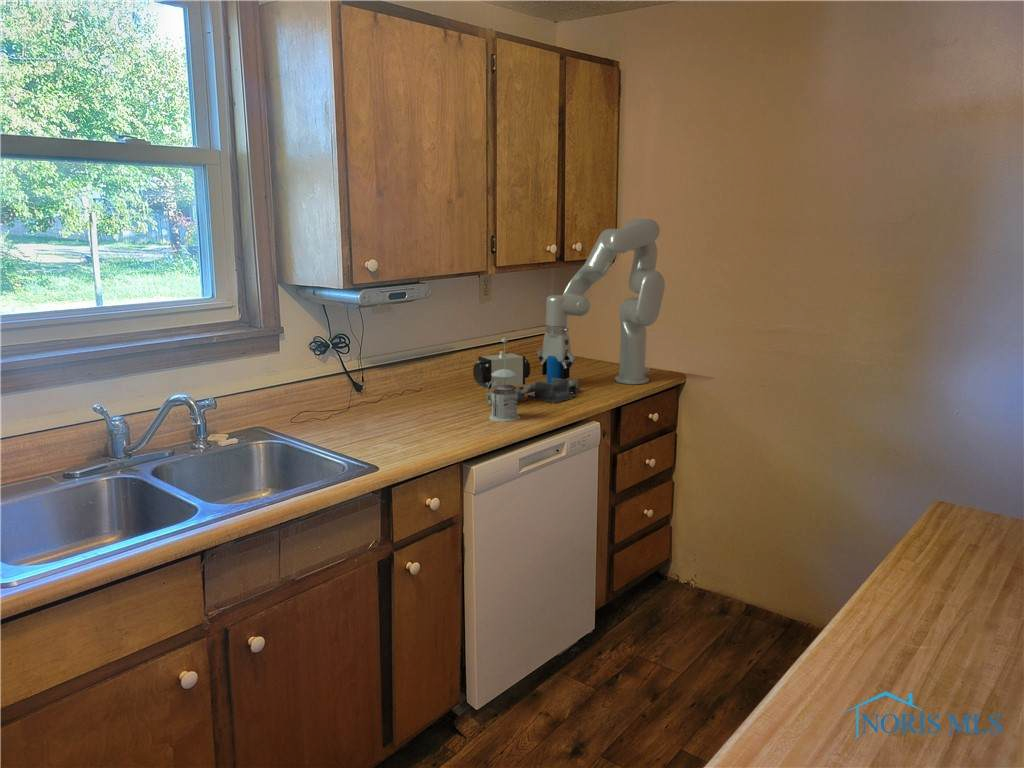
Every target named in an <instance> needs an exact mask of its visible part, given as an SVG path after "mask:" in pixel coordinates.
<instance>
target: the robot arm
mask: <svg viewBox="0 0 1024 768" xmlns="http://www.w3.org/2000/svg"><path fill="white" fill-rule="evenodd" d="M660 229H661V228H660V226H659V224H658V223H657V221H655V220H654V219H650V218H640V217H639V218H632V219H629V220H628V221H627V222H625V224H624V227H622V228H607V229H606V228H605V230H602V231H601V233H600V235H599V236H598V238H597V240H596V242H595V243H594V245H593V247H592V249H591V251H590V253H589V255H588V256H587V259H586V260H585V262H584V264H582V266H581V268H580V269H578V271H577V272H576V273H575V274H574V275H573V276H572V278H571V279H570V281H569V282H568V284H567V285H566V287H565V289H564V291H563V294H562V295H560V294H559V295H558V294H557V295H556V294H553V295H552V294H551V295H549V296H547V297H546V300H545V303H546V304H545V306H546V307H545V311H546V312H545V332H544V336H543V340H542V341H543V342H542V348H540V349H539V350H537V352H536V354H537V357H538V360H539V361H540V365H542V366H541V367H542V368H541V372H542V373H541V375H542V376H547V357H548V356H549V355H552V356H555V357H556V358H557V360H558V362H561V363H562V365H563V366H564V368H563V375H562V378H563V379H567V380H568V379H570V371H571V369H570V368H571V367H572V366H573V365H574V362H575V361H576V359H577V358H576V356H575V354H573V353H572V352H571V351H572V350H571V348H572V347H571V340H570V335H569V333H568V332H569V331H570V329H569V328H568V316H573V317H574V316H575V317H584V316H585V315H587V314H588V313H589V311H590V310H591V302H590V300H589V299H588V298H587V297H586V296H585V293H586V292H587V290H588V289H589V288H590V286H592V285H593V284H594V283H596V282H598V281H600V280H601V279H602V278H604V277H605V276H606V275H607V273H608V272H609V269H610V267H611V265H612V263H613V261H614V259H615V258H616V256H617V254H625V253H628V252H631V251H633V257H632V263H631V268H630V274H629V278H628V288H629V290H630V291H631V292H632V293H635V294H637V296H631V297H627V298H625V299H624V300H623V301H622V302H621V304H620V306H619V309H618V310H619V311H618V312H619V313H618V314H619V316H618V317H619V322H620V340H619V341H620V344H619V345H620V346H619V370H618V371H619V373H618V374H619V375H617V376H615V377H614V380H615V382H617V383H620V384H624V385H625V384H626V385H642V384H647V383H649V381H650V379H649V377H647V376H646V374H649V373H651V369H650V368H649V367H647V368H646V349H647V327H650V326H651V325H653V324H654V323H655V322H656V321H657V319H658V318H659V315H660V312H661V307H662V303H663V299H664V293H665V287H666V284H665V278H664V276H663V274H662V273H661V272H660V271H658V270H657V269H656V268H657V267H656V266H657V261H658V247H657V244H656V240H657V239H658V238H659V236H660V232H661V231H660Z"/></svg>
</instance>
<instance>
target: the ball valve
mask: <svg viewBox="0 0 1024 768" xmlns="http://www.w3.org/2000/svg"><path fill="white" fill-rule="evenodd" d="M501 369H504V350H501V351H499V354H492V355H491V354H490V355H484V356H483V355H482V356H478V361H477V362H476V363H475V364H474V365H473V368H472V373H473V379H474V381H475V383H477V384H478V385H479V386H480V387H483V388H485V389H487V387H488V385H489V383H490V382H491V381H492V380H493V381H494V384H495V385H493V381H492V382H491V383H490V385H489V387H488V390H491V387H492V385H493V387H494V386H496V385H504V378H495V377H492V375H491V374H492V373H494V372H495V371H497V370H501ZM505 369H509V370H512V371H514V372H516V373H517V374H518V375H517V376H516V377H513V378H505V385H513V386H515V387H517V386H526V381H527V378H529V377H530V375H531V364H530V361H529V360H528V359H527V357H526V356H525V355H522V354H519V353H515V352H512V353H505ZM496 381H497V382H498V384H497V382H496ZM495 382H496V383H495ZM493 387H492V390H491V398H492V391H494V389H493ZM487 395H488V399H489V401H490V402H491V403H490V402H489V401H488V399H487V398H486V400H487V403H488V404H489V405H492V401H491V398H490V392H487ZM495 396H496V394H495ZM495 400H496V398H495ZM505 401H508V400H504V402H505ZM495 404H496V402H495Z"/></svg>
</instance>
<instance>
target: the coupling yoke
mask: <svg viewBox="0 0 1024 768" xmlns="http://www.w3.org/2000/svg"><path fill="white" fill-rule="evenodd" d="M578 385H579V380H578V379H576V378H572V379H568V378H567V379H561V378H556V377H551V383H547V381H546V382H545V381H540V380H535V382H534V384H533V383H532V384H528V385H527V384H525V385H521V386H519V387H516V389H515V391H517V399H516V400H517V402H519V401H520V402H521V401H522V402H524V401H523V400H525V401H526V398H527V399H532V400H535V399H536V400H537V401H540V400H541V401H540V402H544V401H546V402H545V403H549V402H551V403H550V404H553V403H555V404H557V403H556V402H558V403H561V402H560V401H562V402H564V401H563V400H566V401H568V400H567V399H569V400H571V399H570V398H573V399H575V398H574V397H576V398H577V394H579V393H578V392H581V388H580V387H578ZM570 392H573V393H570ZM575 393H576V394H575ZM526 396H527V397H526ZM536 400H535V401H536Z"/></svg>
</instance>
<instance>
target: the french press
mask: <svg viewBox="0 0 1024 768" xmlns="http://www.w3.org/2000/svg"><path fill="white" fill-rule="evenodd" d="M501 342H502V343H503V348H504V349H503V351H504V369H501V370H497V371H495V372H494V373H492V374H491V375H492V377H495V378H504V385H496V386H494V387H493V385H495V384H494V381H493V380H492V381H493V385H492V387H493V389H492V387H491V389H490V392H489V393H490V398H491V392H492V398H491V401H492V404H491V414H490V416H489V417H488V419H489V420H491V421H495V422H498V421H499V422H500V423H501V422H502V423H507V422H506V421H511V422H514V421H513V420H516V421H518V420H517V419H519V418H520V419H521V417H520V415H519V414H518V405H517V404H518V400H517V391H516V389H517V386H513V385H505V378H513V377H516V376H517V375H518V374H517V373H516V372H514V371H512V370H509V369H505V354H506V348H505V347H506V346H505V345H506V343H508V338H507V337H503V338H502V339H501ZM492 381H491V382H492ZM491 382H490V383H491ZM496 382H497V381H496ZM496 382H495V383H496ZM490 383H489V385H490ZM497 384H498V382H497ZM489 385H488V387H489ZM488 387H487V388H486V392H488V390H489V389H488ZM492 390H494V391H492ZM495 394H496V396H495ZM495 398H496V400H495ZM487 399H488V394H486V400H487ZM504 400H508V401H505V402H504ZM488 401H489V399H488V400H487V402H488ZM489 402H490V401H489ZM495 402H496V404H495ZM490 403H491V402H490ZM520 419H519V420H520Z"/></svg>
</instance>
